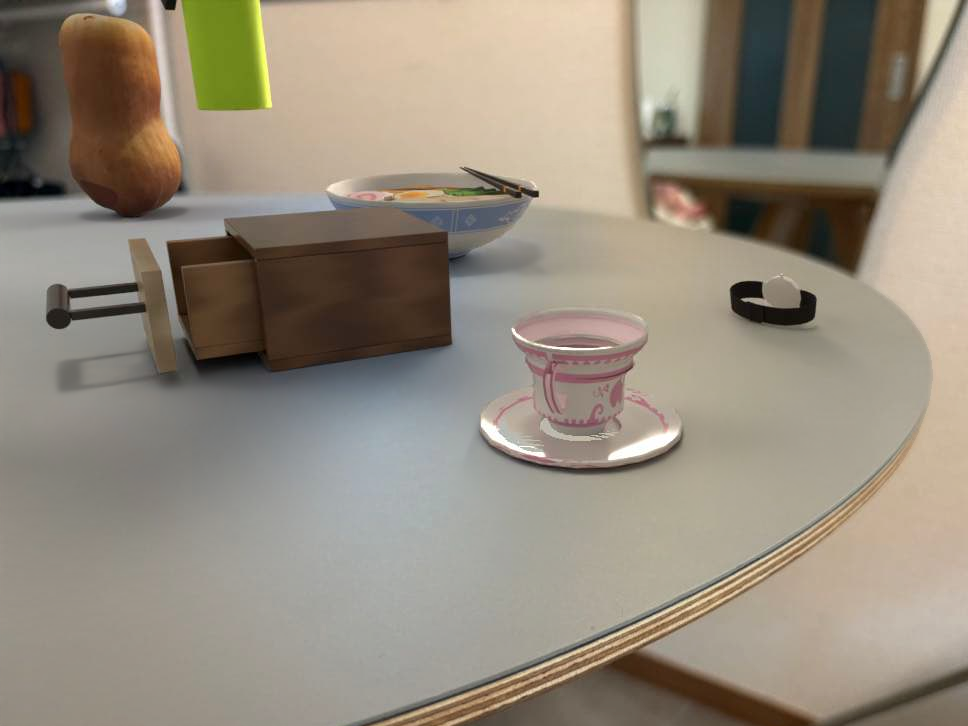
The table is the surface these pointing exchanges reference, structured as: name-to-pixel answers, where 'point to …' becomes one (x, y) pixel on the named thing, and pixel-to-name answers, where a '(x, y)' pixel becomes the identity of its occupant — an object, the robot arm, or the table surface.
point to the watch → (774, 302)
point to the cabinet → (347, 284)
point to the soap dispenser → (227, 54)
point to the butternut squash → (117, 115)
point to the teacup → (582, 392)
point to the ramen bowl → (444, 202)
